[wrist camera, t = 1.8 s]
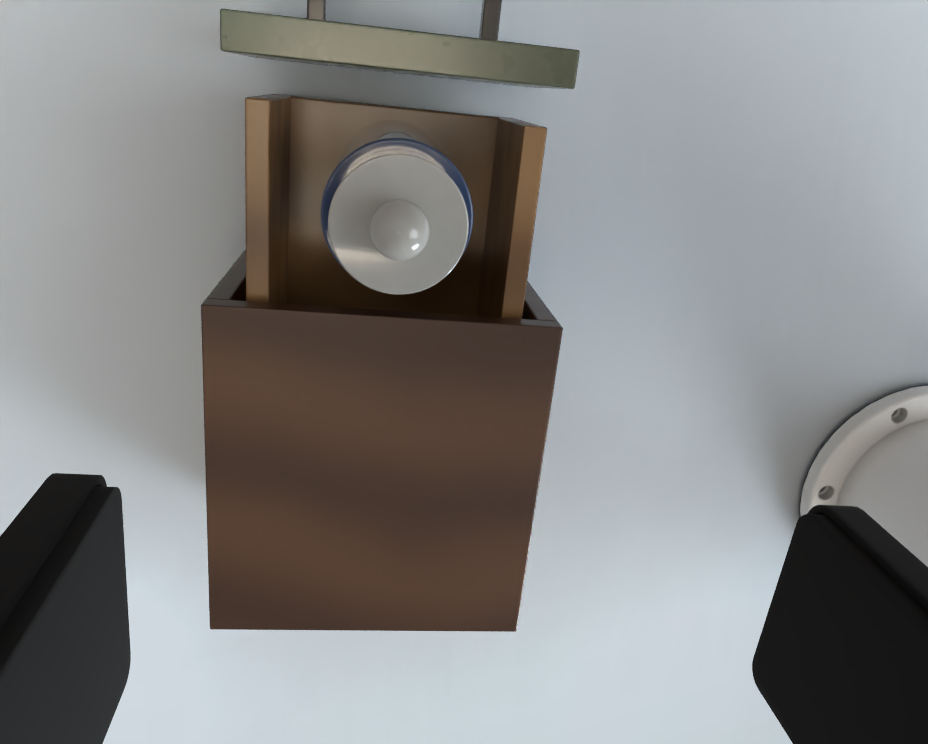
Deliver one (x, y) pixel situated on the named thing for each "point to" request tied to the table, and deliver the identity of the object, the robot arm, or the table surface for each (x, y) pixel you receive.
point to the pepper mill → (396, 209)
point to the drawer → (335, 122)
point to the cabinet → (371, 462)
